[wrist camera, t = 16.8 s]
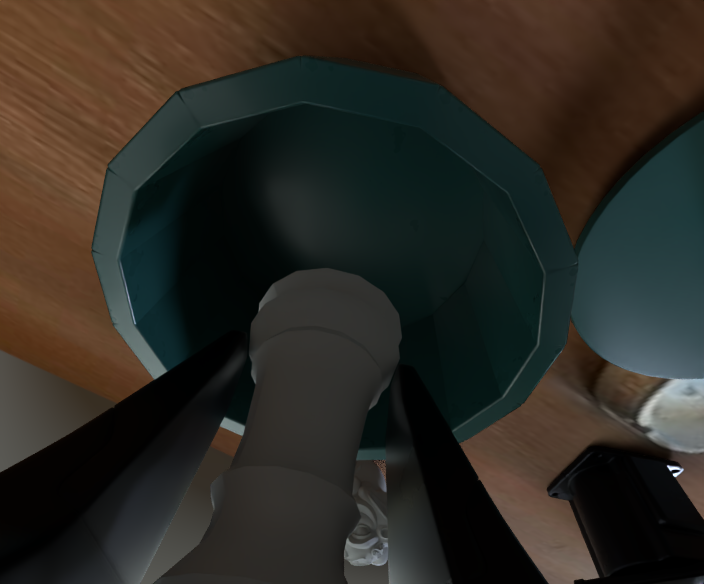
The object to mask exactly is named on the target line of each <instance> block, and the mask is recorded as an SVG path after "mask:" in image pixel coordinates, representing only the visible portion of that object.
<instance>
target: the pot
mask: <svg viewBox="0 0 704 584" xmlns="http://www.w3.org/2000/svg"><path fill="white" fill-rule="evenodd" d="M91 248H92V252H91V253H92V256H93V259H94V263H95V266H96V270H97V273H98V276H99V280H100V283H101V287H102V290H103V293H104V297H105V300H106V304H107V307H108V310H109V314H110V317H111V321H112V322H113V326H114V327H115V328H116V330H117V331H118V332H119V334H120V335H121V336H122V338H123V339H124V340H125V342H126V343H127V344H128V346H129V347H130V348H131V350H132V351H133V352H134V354H135V355H136V356H137V357H138V359H139V360H140V361H141V363H142V364H143V365H144V367H145V368H146V369H147V371H148V372H149V373H150V375H151V376H152V377H153V379H154V380H155V379H156V378H158V377H159V376H161V375H162V374H164V373H166V372H167V371H169V370H170V369H172V368H173V367H175V366H176V365H178V364H179V363H181V362H182V361H184V360H186V359H187V358H189V357H190V356H192V355H193V354H195V353H196V352H198V351H199V350H201V349H203V348H204V347H206V346H207V345H209V344H210V343H212V342H213V341H215V340H216V339H218V338H219V337H221V336H223V335H224V334H226V333H227V332H229V331H230V330H238V331H243V332H246V333H247V359H246V362H245V365H244V368H243V370H242V373H241V376H240V378H239V381H238V384H237V386H236V389H235V392H234V395H233V397H232V400H231V403H230V405H229V408H228V410H227V412H226V415H225V417H224V419H223V421H222V423H221V425H220V426H221V427H223V428H225V429H228V430H230V431H232V432H235V433H237V434H239V435H242V436H243V433H244V429H245V425H246V421H247V417H248V413H249V409H250V405H251V401H252V397H253V393H254V390H255V385H256V384H255V382H254V380H253V378H252V376H251V370H252V361H251V358H250V356H249V343H250V330H251V322H252V321H253V320H254V318H255V317H256V315H257V314H258V312H259V303H260V302H261V300H262V299H263V297H264V296H265V294H266V293H267V291H268V290H269V288H270V287H271V286H272V284H273V283H275V282H277V281H279V280H281V279H283V278H285V277H286V276H288V275H290V274H292V273H294V272H296V271H302V270H311V269H321V268H330V269H334V270H338V271H342V272H346V273H350V274H354V275H358V276H360V277H362V278H363V279H365V280H366V281H368V282H369V283H371V284H372V285H374V286H375V287H377V288H378V289H380V290H381V291H383V292H384V293H385V294H386V296H387V297H388V299H389V300H390V302H391V303H392V305H393V306H394V308H395V309H396V311H397V312H398V314H399V318H400V326H401V334H402V339H401V341H400V343H399V346H398V347H399V355H400V359H399V362H398V364H397V366H398V365H399V364H400V363H402V364H407V365H412V366H413V367H414V368H415V369H416V371H417V373H418V374H419V376H420V378H421V380H422V381H423V383H424V385H425V386H426V388H427V390H428V392H429V393H430V395H431V397H432V398H433V400H434V402H435V404H436V405H437V407H438V409H439V410H440V412H441V414H442V416H443V417H444V419H445V421H446V422H447V424H448V426H449V428H450V429H451V431H452V433H453V434H454V436H455V438H456V439H457V441H458V443H461V442H464V440H468V439H469V438H471V437H472V436H474V435H476V434H477V433H479V432H480V431H482V430H483V429H485V428H487V427H488V426H490V425H491V424H493V423H495V422H496V421H498V420H499V419H501V418H502V417H504V416H506V415H507V414H509V413H510V412H512V411H513V410H515V409H517V408H518V407H520V406H521V405H522V404H523V403H524V402H525V401H526V399H527V398H528V397H529V395H530V394H531V393H532V391H533V390H534V389H535V387H536V386H537V384H538V383H539V382H540V380H541V379H542V378H543V376H544V375H545V373H546V372H547V371H548V369H549V368H550V367H551V365H552V364H553V363H554V361H555V360H556V358H557V357H558V356H559V354H560V353H561V352H562V350H563V349H564V347H565V345H566V343H567V337H568V331H569V324H570V318H571V311H572V305H573V298H574V292H575V285H576V279H577V273H578V266H579V264H578V258H577V255H576V253H575V250H574V248H573V245H572V243H571V240H570V238H569V235H568V233H567V230H566V228H565V225H564V223H563V220H562V218H561V215H560V213H559V210H558V208H557V205H556V203H555V200H554V198H553V195H552V193H551V190H550V188H549V185H548V183H547V180H546V178H545V175H544V173H543V170H542V168H541V167H540V165H539V164H538V163H537V162H536V161H534V160H533V159H532V158H531V157H529V156H528V155H527V154H526V153H525V152H523V151H522V150H521V149H520V148H518V147H517V146H516V145H515V144H513V143H512V142H511V141H510V140H508V139H507V138H506V137H505V136H504V135H502V134H501V133H500V132H499V131H497V130H496V129H495V128H494V127H492V126H491V125H490V124H489V123H487V122H486V121H485V120H484V119H483V118H481V117H480V116H479V115H478V114H476V113H475V112H474V111H473V110H471V109H470V108H469V107H468V106H467V105H465V104H464V103H463V102H462V101H460V100H459V99H458V98H457V97H455V96H454V95H453V94H452V93H450V92H449V91H448V90H447V89H446V88H444V87H443V86H442V85H440V84H438V83H436V82H434V81H432V80H430V79H428V78H426V77H424V76H422V75H420V74H417V73H414V72H409V71H404V70H399V69H395V68H390V67H385V66H382V65H376V64H371V63H367V62H362V61H357V60H353V59H348V58H339V57H323V56H308V55H303V56H295V57H291V58H288V59H284V60H281V61H277V62H274V63H270V64H267V65H263V66H259V67H256V68H252V69H249V70H245V71H242V72H238V73H235V74H231V75H227V76H224V77H220V78H217V79H213V80H210V81H206V82H203V83H199V84H195V85H192V86H188V87H185V88H181V89H180V90H179V91H176V92H175V93H174V94H173V95H172V96H171V97H170V98H169V99H168V100H167V101H166V102H165V104H164V105H163V106H162V107H161V108H160V109H159V110H158V111H157V112H156V113H155V114H154V115H153V116H152V117H151V119H150V120H149V121H148V122H147V123H146V124H145V125H144V126H143V127H142V128H141V129H140V130H139V131H138V132H137V133H136V135H135V136H134V137H133V138H132V139H131V140H130V141H129V142H128V143H127V144H126V145H125V146H124V147H123V148H122V149H121V151H120V152H119V153H118V154H117V155H116V156H115V157H114V158H113V159H112V160H111V161H110V162H109V163H108V168H107V169H106V175H105V180H104V185H103V190H102V195H101V200H100V206H99V211H98V216H97V221H96V226H95V232H94V237H93V242H92V247H91ZM396 369H397V367H396ZM396 369H395V371H396ZM394 374H395V372H394ZM394 374H393V376H392V379H391V381H390V383H389V386H388V387H387V388H386V389H385V390H384V391H382V392H381V394H380V397H379V399H378V402H377V404H376V405H375V406H373V407H372V408H371V409H369V410H368V412H367V416H366V421H365V425H364V429H363V433H362V437H361V441H360V446H359V450H358V454H357V458H356V460H384V459H386V451H385V450H386V428H387V418H388V407H389V396H390V387H391V383H392V380H393V377H394Z"/></svg>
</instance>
